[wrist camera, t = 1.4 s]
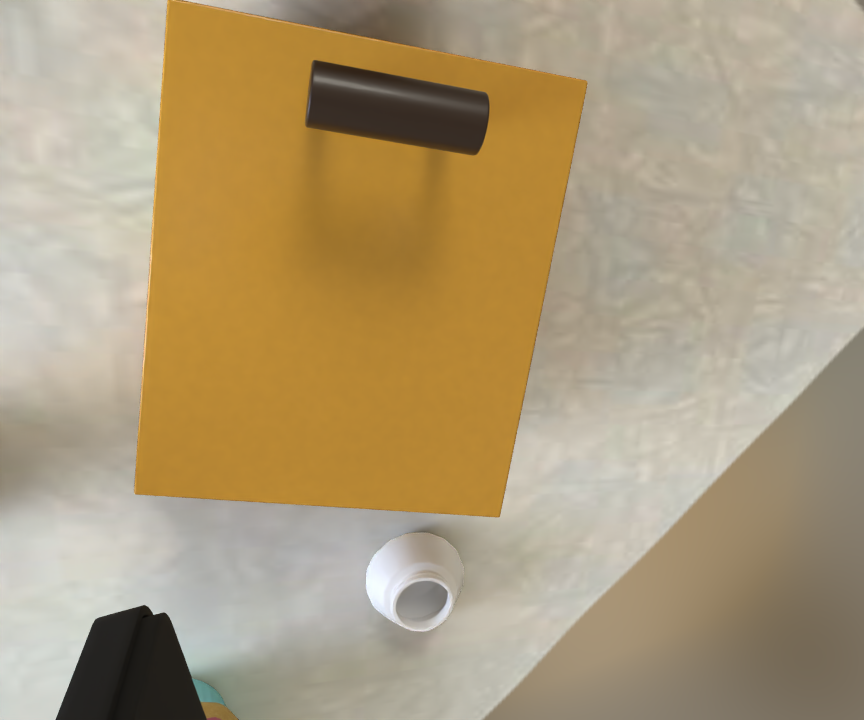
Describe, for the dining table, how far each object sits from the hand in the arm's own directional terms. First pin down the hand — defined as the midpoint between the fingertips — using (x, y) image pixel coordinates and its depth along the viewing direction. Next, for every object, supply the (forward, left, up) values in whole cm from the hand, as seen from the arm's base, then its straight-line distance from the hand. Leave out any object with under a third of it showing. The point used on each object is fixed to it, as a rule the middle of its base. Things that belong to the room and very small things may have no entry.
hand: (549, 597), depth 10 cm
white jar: (+16, -5, -27) cm, 32 cm away
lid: (-1, -1, -19) cm, 19 cm away
